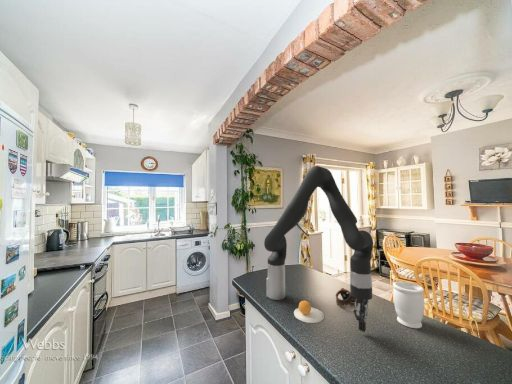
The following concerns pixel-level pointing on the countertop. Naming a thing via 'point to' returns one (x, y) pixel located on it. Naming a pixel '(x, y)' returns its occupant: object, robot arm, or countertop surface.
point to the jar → (408, 303)
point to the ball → (304, 307)
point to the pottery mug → (345, 297)
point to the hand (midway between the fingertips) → (362, 330)
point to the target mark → (309, 316)
